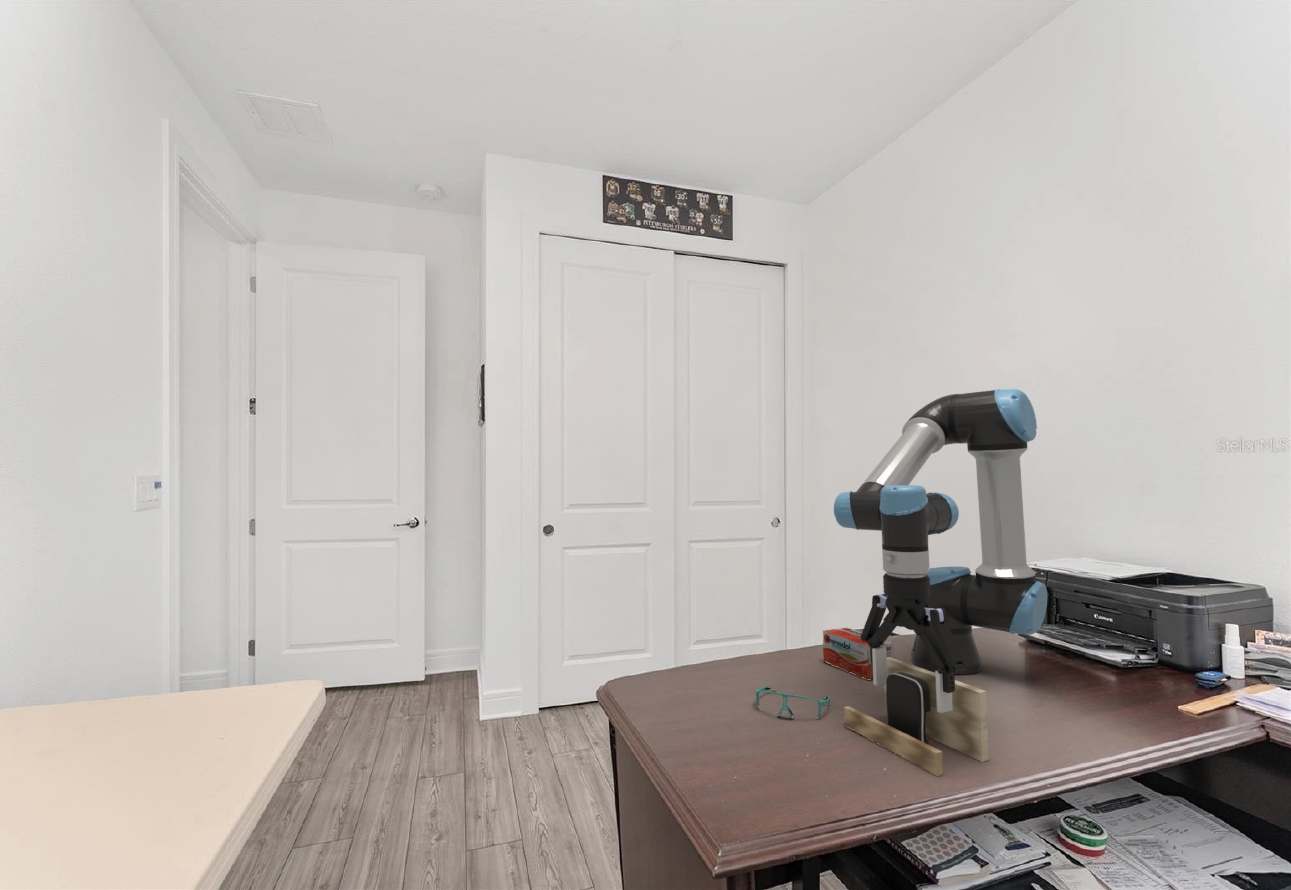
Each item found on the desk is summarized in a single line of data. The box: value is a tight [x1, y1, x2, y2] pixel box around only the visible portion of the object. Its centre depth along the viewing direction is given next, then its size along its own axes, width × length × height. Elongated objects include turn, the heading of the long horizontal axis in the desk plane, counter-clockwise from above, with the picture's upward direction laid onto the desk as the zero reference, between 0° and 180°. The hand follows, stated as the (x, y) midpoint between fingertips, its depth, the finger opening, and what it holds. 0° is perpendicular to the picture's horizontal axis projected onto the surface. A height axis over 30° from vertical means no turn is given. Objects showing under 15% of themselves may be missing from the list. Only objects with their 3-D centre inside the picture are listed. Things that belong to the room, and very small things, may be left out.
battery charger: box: [886, 672, 931, 745], centre depth 104 cm, size 7×4×11 cm, turn 27°
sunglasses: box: [755, 686, 831, 718], centre depth 120 cm, size 14×15×5 cm
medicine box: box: [822, 627, 895, 679], centre depth 142 cm, size 15×8×8 cm, turn 26°
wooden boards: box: [843, 657, 990, 777], centre depth 104 cm, size 20×12×11 cm, turn 25°
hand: (910, 696), depth 104 cm, fingers open, 13 cm apart
